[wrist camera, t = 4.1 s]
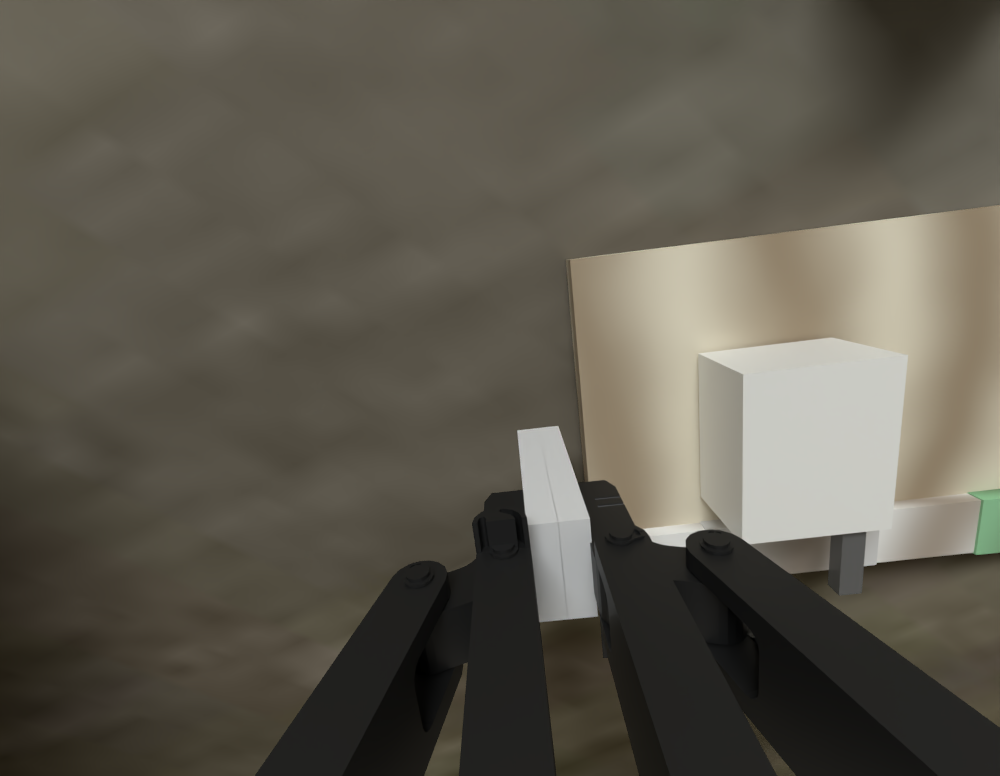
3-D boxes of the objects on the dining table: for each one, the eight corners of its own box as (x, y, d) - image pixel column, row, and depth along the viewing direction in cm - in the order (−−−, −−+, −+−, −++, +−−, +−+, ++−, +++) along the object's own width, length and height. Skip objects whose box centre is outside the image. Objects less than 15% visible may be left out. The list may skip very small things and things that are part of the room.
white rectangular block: (701, 553, 21) (741, 611, 17) (698, 353, 18) (743, 374, 15) (820, 541, 20) (885, 596, 17) (832, 337, 18) (907, 354, 15)
